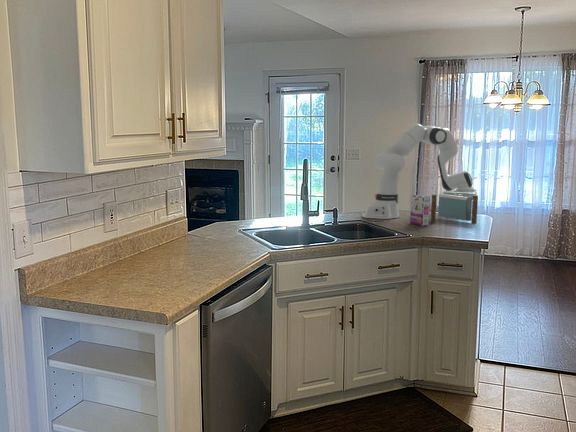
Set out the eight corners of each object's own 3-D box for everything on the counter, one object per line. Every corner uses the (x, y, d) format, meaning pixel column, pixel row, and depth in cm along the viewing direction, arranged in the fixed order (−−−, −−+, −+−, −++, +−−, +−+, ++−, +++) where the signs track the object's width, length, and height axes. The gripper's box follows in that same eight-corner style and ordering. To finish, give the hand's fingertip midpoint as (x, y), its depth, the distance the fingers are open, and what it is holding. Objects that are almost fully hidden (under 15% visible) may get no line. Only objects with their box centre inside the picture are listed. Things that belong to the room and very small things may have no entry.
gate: (437, 215, 337) (438, 193, 335) (440, 215, 338) (441, 193, 336) (469, 220, 318) (470, 197, 316) (471, 220, 320) (472, 197, 317)
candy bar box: (429, 225, 311) (430, 196, 309) (422, 226, 309) (423, 197, 307) (416, 222, 321) (417, 194, 319) (409, 223, 319) (410, 194, 317)
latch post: (431, 222, 320) (432, 195, 318) (430, 222, 322) (431, 194, 320) (435, 223, 320) (436, 195, 317) (435, 222, 322) (436, 194, 320)
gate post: (472, 223, 318) (473, 195, 316) (471, 222, 321) (472, 195, 319) (476, 223, 318) (478, 195, 315) (475, 222, 321) (477, 195, 318)
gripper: (445, 188, 358) (439, 190, 346) (478, 189, 347) (473, 191, 336) (445, 197, 359) (439, 200, 347) (478, 199, 348) (473, 202, 337)
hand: (456, 196), depth 341 cm, fingers closed
